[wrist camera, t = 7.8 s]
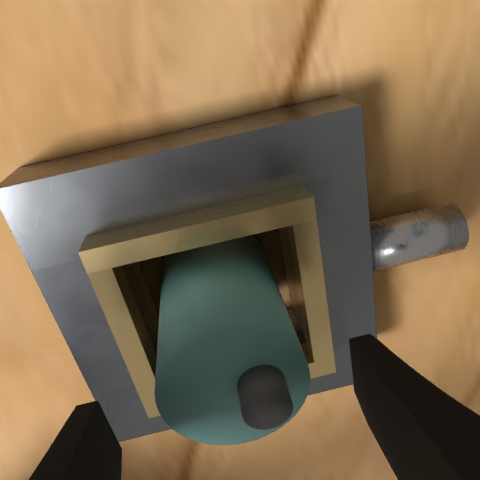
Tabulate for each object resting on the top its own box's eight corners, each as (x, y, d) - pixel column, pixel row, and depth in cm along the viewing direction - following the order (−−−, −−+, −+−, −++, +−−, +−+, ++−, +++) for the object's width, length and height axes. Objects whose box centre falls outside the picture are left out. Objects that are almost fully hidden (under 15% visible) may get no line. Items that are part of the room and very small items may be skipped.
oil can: (177, 322, 19) (178, 490, 12) (148, 236, 17) (129, 377, 10) (273, 299, 20) (328, 451, 13) (256, 210, 18) (309, 333, 10)
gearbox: (122, 399, 21) (112, 467, 18) (18, 167, 16) (-26, 204, 12) (436, 322, 21) (482, 375, 18) (440, 71, 16) (507, 81, 13)
